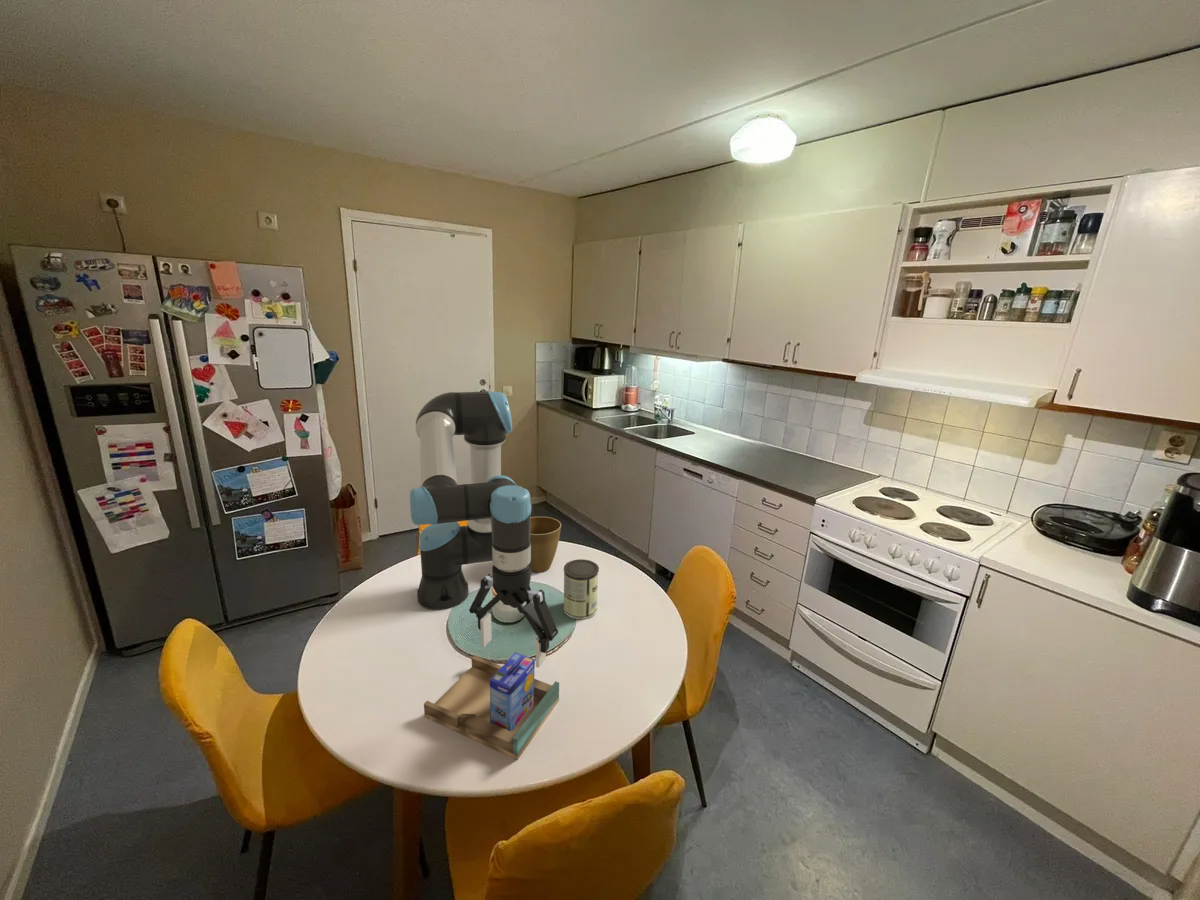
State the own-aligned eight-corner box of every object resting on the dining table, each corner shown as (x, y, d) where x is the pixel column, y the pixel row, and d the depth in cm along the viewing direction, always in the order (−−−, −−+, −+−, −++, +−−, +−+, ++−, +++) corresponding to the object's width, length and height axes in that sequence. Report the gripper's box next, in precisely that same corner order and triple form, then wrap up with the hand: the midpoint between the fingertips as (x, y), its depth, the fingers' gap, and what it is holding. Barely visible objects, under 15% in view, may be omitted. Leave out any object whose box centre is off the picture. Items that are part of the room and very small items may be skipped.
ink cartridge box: (510, 736, 100) (509, 678, 96) (488, 727, 102) (486, 669, 98) (535, 703, 109) (535, 649, 105) (515, 695, 111) (514, 641, 107)
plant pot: (564, 558, 175) (564, 517, 171) (555, 579, 161) (556, 536, 156) (524, 554, 177) (523, 514, 172) (512, 575, 162) (511, 532, 158)
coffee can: (566, 598, 151) (566, 557, 147) (598, 601, 150) (600, 560, 146) (560, 618, 141) (560, 575, 137) (595, 621, 140) (596, 578, 136)
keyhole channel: (424, 716, 105) (423, 698, 104) (474, 667, 120) (473, 650, 119) (517, 759, 96) (517, 739, 95) (559, 700, 111) (559, 682, 110)
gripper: (449, 556, 97) (454, 644, 103) (557, 589, 87) (555, 684, 94) (472, 541, 104) (476, 624, 110) (576, 570, 94) (573, 660, 100)
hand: (512, 652), depth 102 cm, fingers open, 13 cm apart
